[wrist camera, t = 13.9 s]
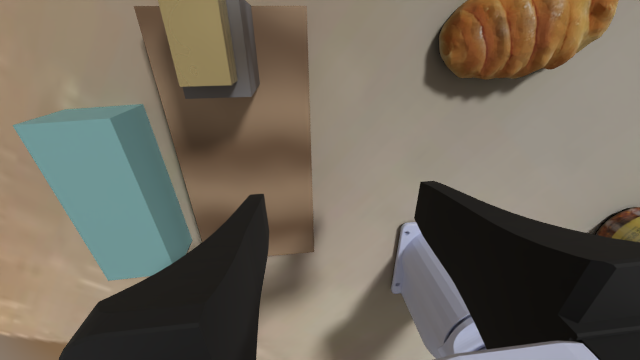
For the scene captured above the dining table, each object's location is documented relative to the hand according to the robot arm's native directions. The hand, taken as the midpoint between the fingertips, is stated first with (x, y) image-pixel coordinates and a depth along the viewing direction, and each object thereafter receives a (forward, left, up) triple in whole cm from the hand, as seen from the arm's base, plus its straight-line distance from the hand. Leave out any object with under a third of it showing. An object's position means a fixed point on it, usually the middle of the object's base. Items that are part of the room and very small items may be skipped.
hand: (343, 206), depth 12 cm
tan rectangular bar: (+8, +5, -3) cm, 10 cm away
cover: (-3, +14, -10) cm, 18 cm away
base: (-1, +5, -9) cm, 11 cm away
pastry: (+7, -13, -10) cm, 18 cm away
